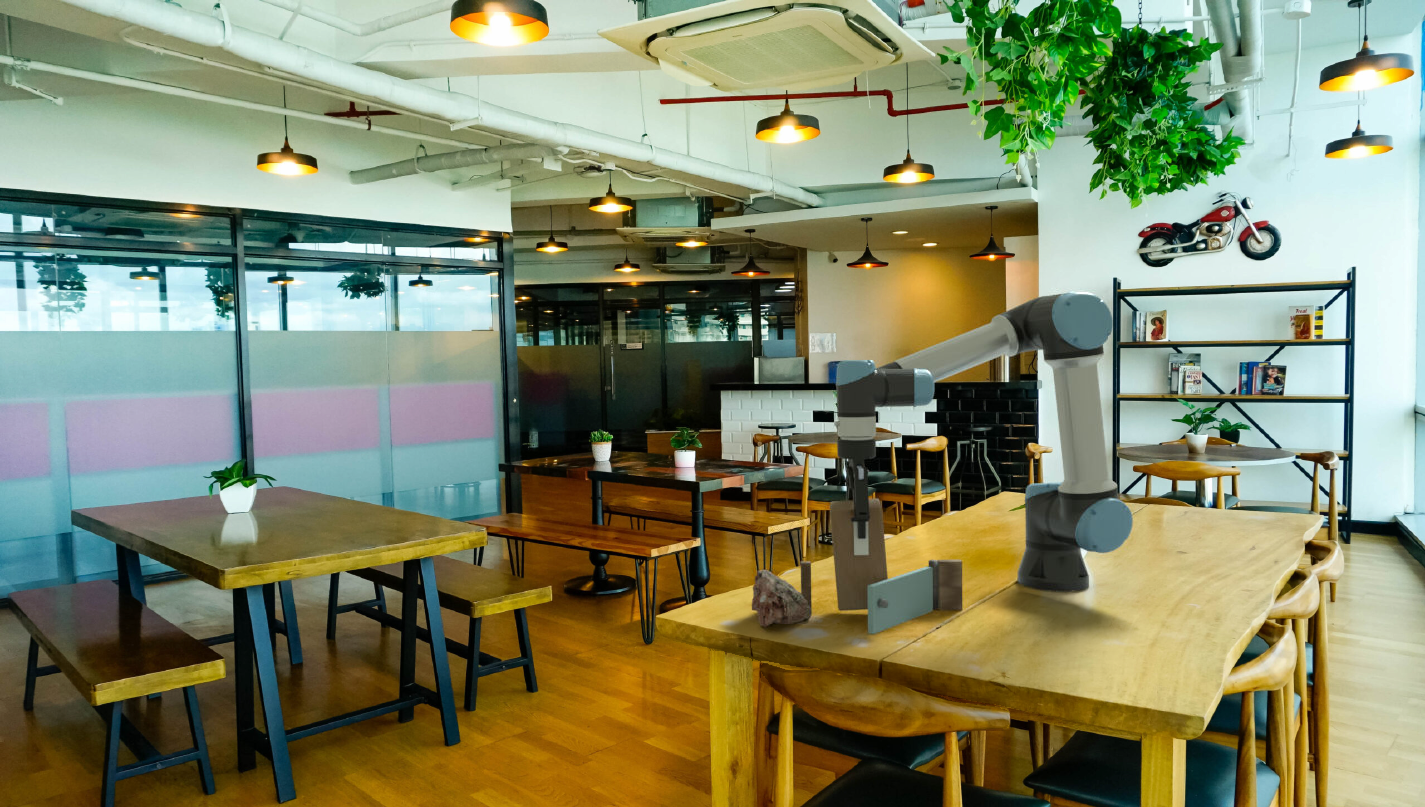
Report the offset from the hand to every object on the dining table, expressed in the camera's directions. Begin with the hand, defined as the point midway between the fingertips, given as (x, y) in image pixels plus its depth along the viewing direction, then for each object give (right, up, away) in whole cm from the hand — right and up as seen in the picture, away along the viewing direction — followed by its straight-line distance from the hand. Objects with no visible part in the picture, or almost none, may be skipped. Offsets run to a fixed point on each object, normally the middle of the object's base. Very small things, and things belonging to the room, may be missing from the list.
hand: (857, 548), depth 178 cm
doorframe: (+6, -13, +6) cm, 16 cm away
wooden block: (+1, -11, +1) cm, 11 cm away
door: (+9, -14, -3) cm, 17 cm away
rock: (-16, -14, 0) cm, 22 cm away
